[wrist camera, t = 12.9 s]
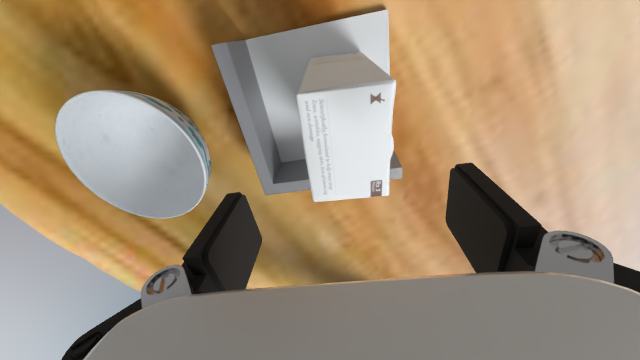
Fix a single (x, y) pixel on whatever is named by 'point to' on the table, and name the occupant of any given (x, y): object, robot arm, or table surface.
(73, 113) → the chinaware
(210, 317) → the robot arm
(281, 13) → the table surface
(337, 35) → the corner jig
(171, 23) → the table surface
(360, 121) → the skincare box
